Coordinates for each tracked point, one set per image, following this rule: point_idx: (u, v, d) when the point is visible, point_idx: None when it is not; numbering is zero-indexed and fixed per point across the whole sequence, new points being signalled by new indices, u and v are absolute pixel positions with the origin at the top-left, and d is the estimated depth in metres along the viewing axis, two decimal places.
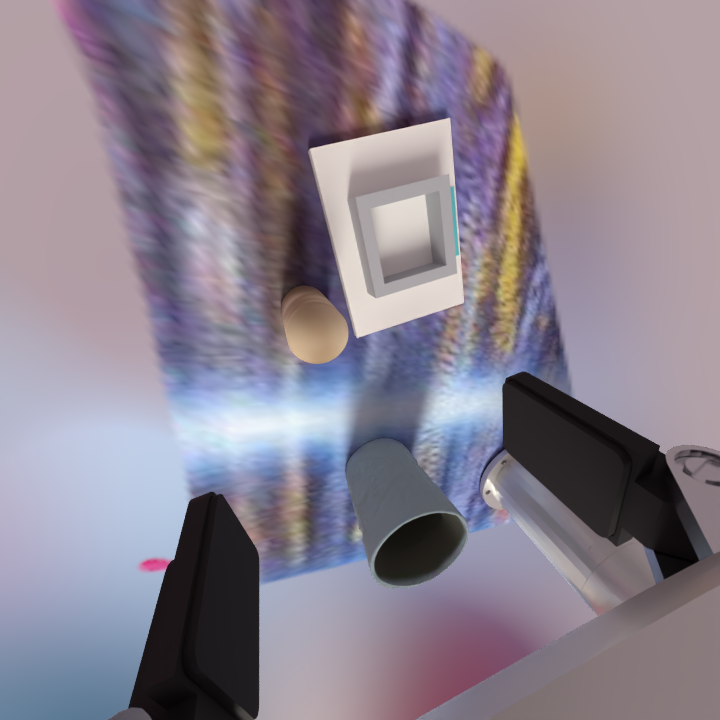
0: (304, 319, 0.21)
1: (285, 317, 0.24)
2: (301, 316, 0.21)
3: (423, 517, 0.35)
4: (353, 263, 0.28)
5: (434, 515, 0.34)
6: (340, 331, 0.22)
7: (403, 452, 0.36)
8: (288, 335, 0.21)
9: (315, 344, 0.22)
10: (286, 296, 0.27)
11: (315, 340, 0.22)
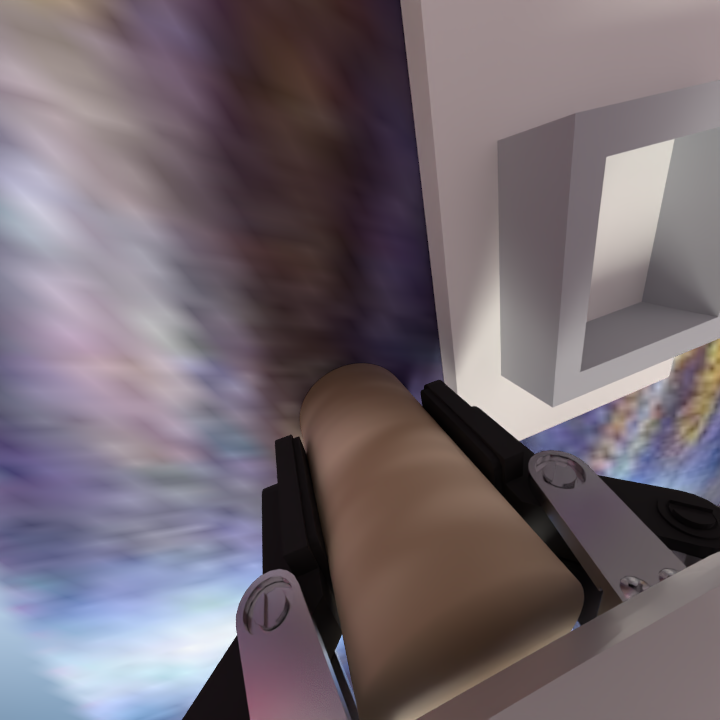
0: (441, 639, 0.05)
1: (330, 526, 0.07)
2: (431, 635, 0.04)
3: None
4: (482, 311, 0.11)
5: None
6: (554, 625, 0.06)
7: None
8: (365, 704, 0.05)
9: (461, 685, 0.06)
10: (315, 398, 0.11)
11: (465, 676, 0.05)
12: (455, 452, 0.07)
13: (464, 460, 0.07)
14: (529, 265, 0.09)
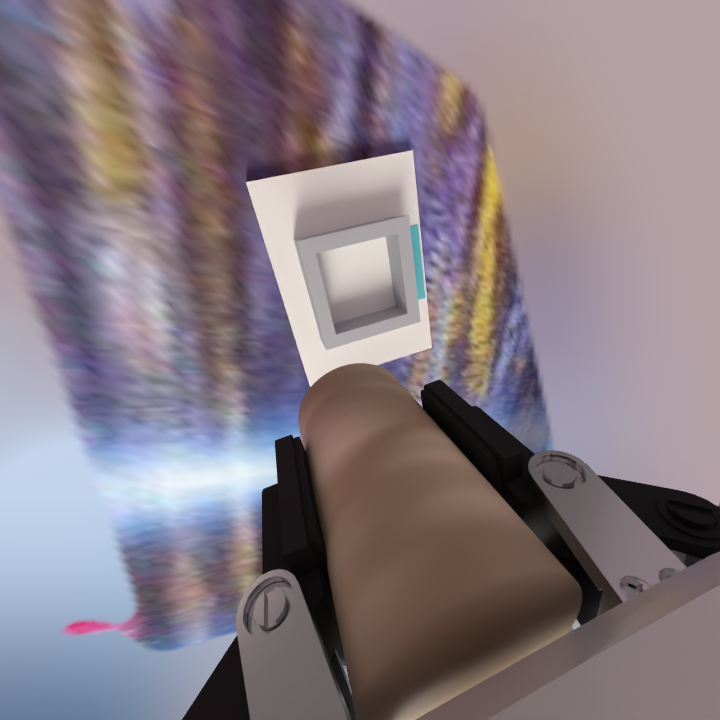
0: (438, 639, 0.05)
1: (328, 526, 0.07)
2: (428, 636, 0.04)
3: None
4: (302, 307, 0.24)
5: None
6: (552, 626, 0.06)
7: None
8: (363, 704, 0.05)
9: (459, 686, 0.06)
10: (314, 398, 0.11)
11: (462, 676, 0.05)
12: (453, 452, 0.07)
13: (462, 460, 0.07)
14: (308, 289, 0.23)
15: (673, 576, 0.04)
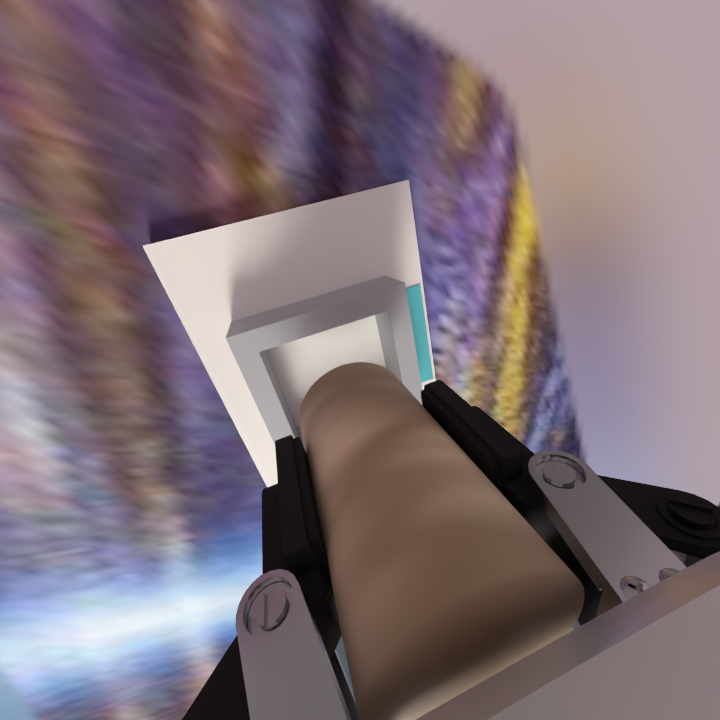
0: (441, 638, 0.05)
1: (329, 524, 0.07)
2: (431, 634, 0.04)
3: None
4: (255, 410, 0.17)
5: None
6: (555, 624, 0.06)
7: None
8: (365, 703, 0.05)
9: (461, 684, 0.06)
10: (315, 397, 0.11)
11: (465, 675, 0.05)
12: (455, 451, 0.07)
13: (464, 459, 0.07)
14: None
15: (673, 576, 0.04)
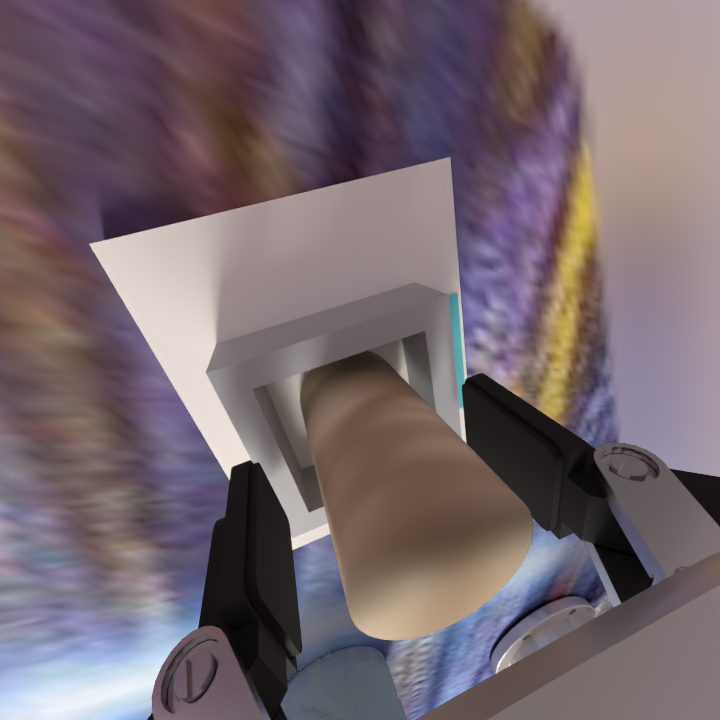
0: (412, 543, 0.06)
1: (326, 476, 0.08)
2: (403, 538, 0.06)
3: None
4: None
5: None
6: (510, 547, 0.07)
7: (371, 693, 0.22)
8: (353, 597, 0.06)
9: (433, 594, 0.07)
10: (314, 379, 0.12)
11: (435, 585, 0.07)
12: (432, 415, 0.09)
13: (440, 421, 0.09)
14: None
15: (673, 576, 0.04)
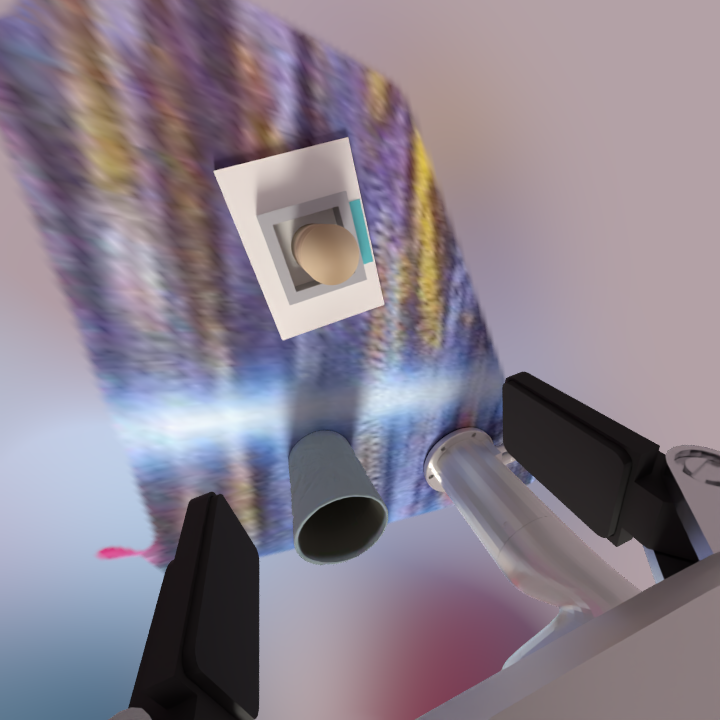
0: (318, 239, 0.23)
1: (298, 244, 0.25)
2: (315, 235, 0.22)
3: (357, 501, 0.39)
4: (269, 272, 0.30)
5: (365, 499, 0.37)
6: (351, 252, 0.24)
7: (338, 443, 0.39)
8: (303, 255, 0.23)
9: (328, 264, 0.24)
10: (296, 232, 0.29)
11: (328, 260, 0.23)
12: None
13: None
14: (271, 255, 0.28)
15: (673, 576, 0.04)
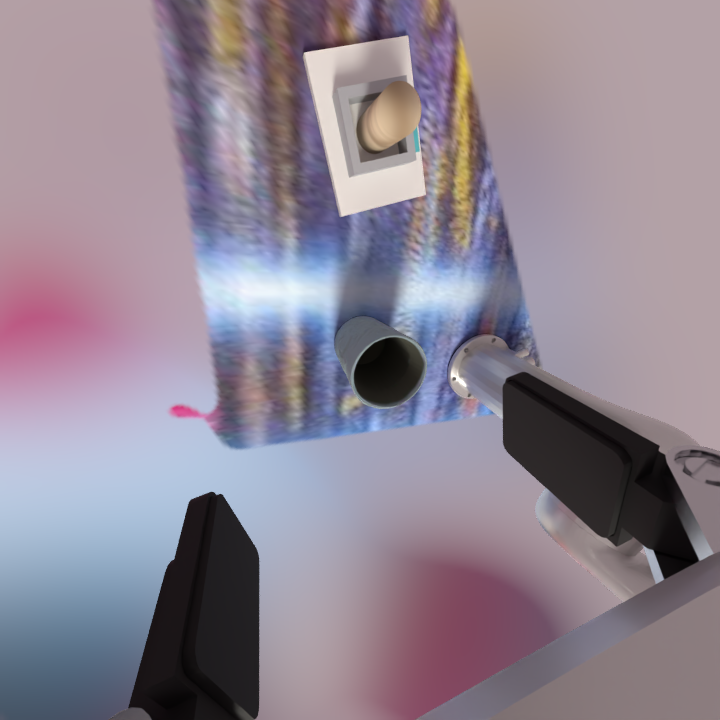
0: (392, 92, 0.29)
1: (371, 108, 0.31)
2: (390, 89, 0.29)
3: (395, 372, 0.44)
4: (337, 150, 0.37)
5: (403, 366, 0.43)
6: (415, 109, 0.30)
7: None
8: (380, 105, 0.29)
9: (397, 117, 0.30)
10: None
11: (398, 114, 0.30)
12: None
13: None
14: (342, 130, 0.35)
15: (673, 576, 0.04)
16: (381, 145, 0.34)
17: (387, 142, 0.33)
